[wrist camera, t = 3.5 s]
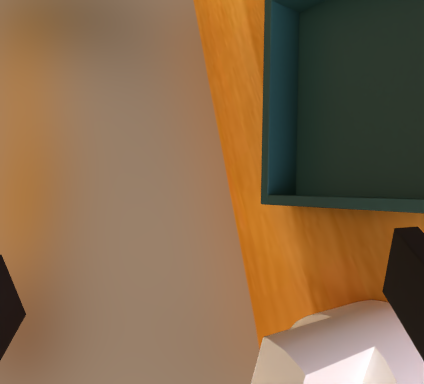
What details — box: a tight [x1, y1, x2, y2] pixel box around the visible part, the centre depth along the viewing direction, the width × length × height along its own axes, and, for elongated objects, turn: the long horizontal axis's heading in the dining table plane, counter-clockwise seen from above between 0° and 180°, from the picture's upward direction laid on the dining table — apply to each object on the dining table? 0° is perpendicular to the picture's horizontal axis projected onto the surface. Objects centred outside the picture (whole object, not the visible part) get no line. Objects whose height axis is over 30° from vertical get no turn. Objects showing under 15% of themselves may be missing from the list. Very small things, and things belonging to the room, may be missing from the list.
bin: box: [261, 0, 424, 213], centre depth 26 cm, size 18×18×4 cm
